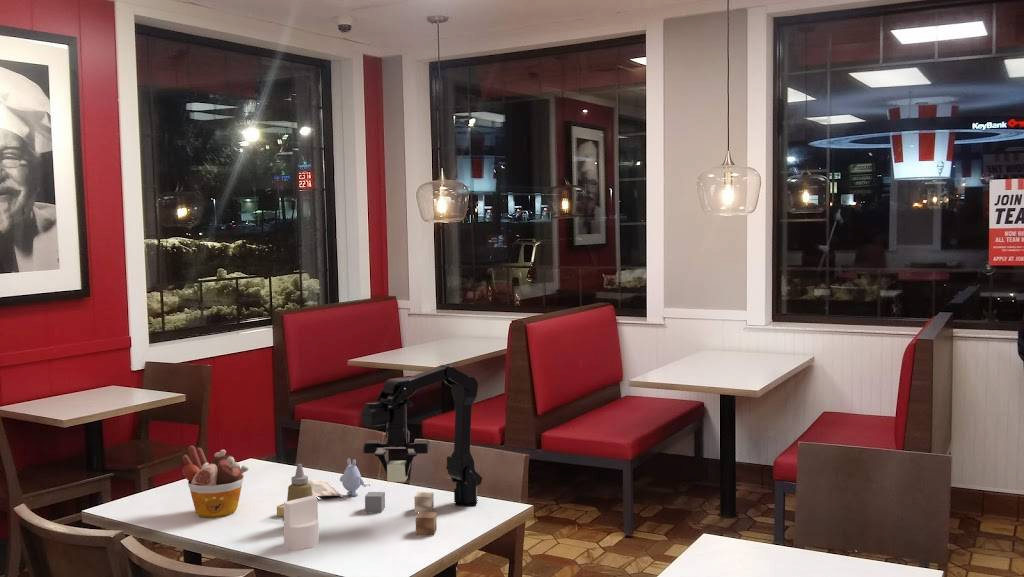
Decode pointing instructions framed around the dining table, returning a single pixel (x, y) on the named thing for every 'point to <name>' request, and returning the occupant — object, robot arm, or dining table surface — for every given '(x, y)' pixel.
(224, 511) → the bucket of meat
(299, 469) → the squeeze bottle
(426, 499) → the cream block
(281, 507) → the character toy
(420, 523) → the walnut block
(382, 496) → the slate block
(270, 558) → the dining table surface
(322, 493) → the newspaper
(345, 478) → the toy figure
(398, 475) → the sage block
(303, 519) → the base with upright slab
